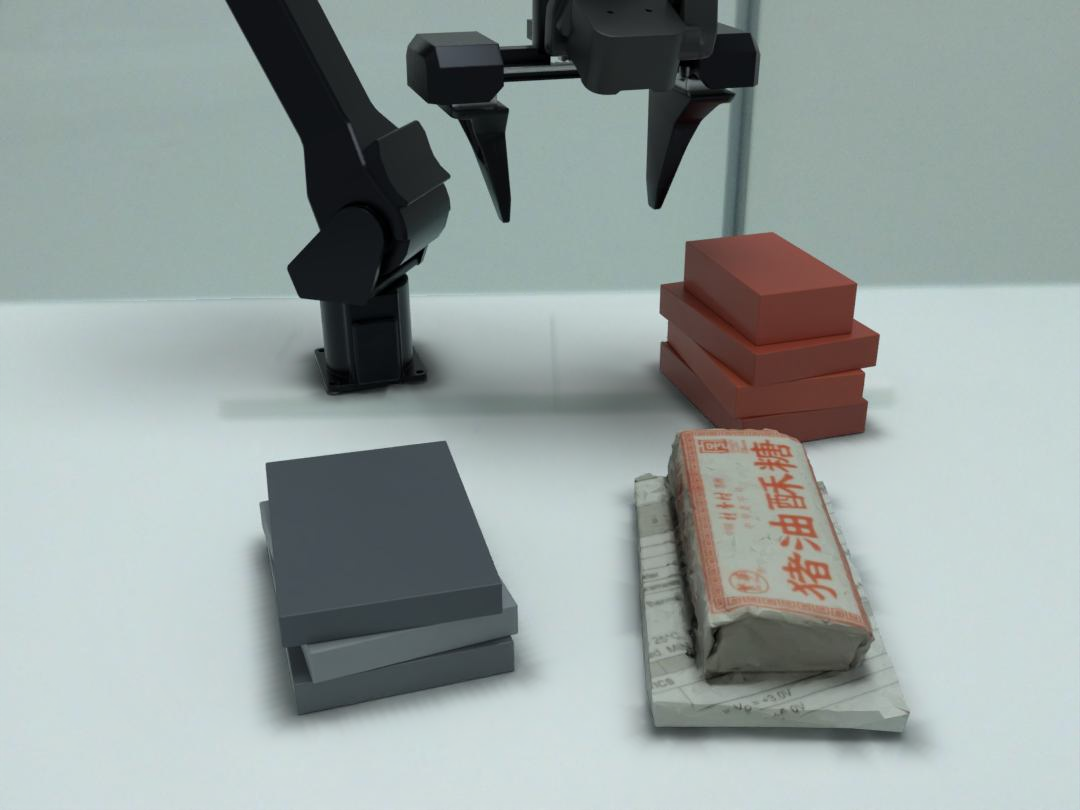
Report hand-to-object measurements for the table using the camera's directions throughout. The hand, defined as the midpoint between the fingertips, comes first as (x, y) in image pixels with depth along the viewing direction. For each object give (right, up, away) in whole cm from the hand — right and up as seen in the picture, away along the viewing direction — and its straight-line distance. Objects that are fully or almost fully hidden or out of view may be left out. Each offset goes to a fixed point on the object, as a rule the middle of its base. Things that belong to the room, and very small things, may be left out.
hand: (580, 214), depth 67 cm
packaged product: (+7, -20, -14) cm, 26 cm away
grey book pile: (-10, -20, -14) cm, 26 cm away
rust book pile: (+11, -11, +5) cm, 16 cm away
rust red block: (+11, -5, +2) cm, 12 cm away
